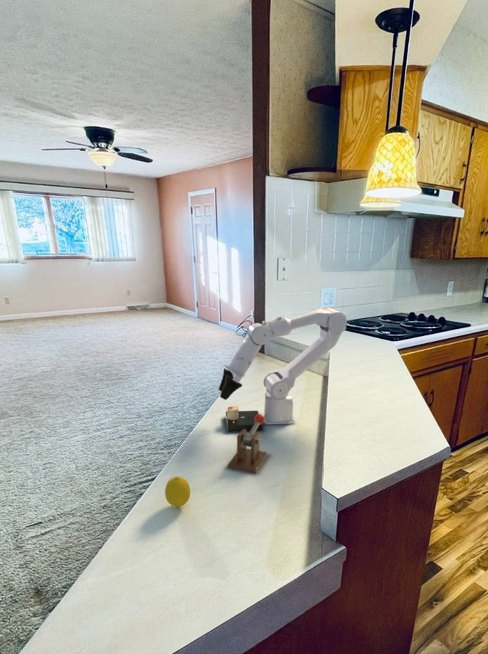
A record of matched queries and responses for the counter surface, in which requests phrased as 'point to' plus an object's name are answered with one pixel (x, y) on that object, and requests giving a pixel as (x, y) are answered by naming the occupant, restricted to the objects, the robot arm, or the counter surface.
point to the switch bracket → (248, 454)
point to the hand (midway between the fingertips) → (222, 394)
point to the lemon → (177, 491)
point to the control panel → (242, 422)
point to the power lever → (253, 430)
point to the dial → (232, 413)
